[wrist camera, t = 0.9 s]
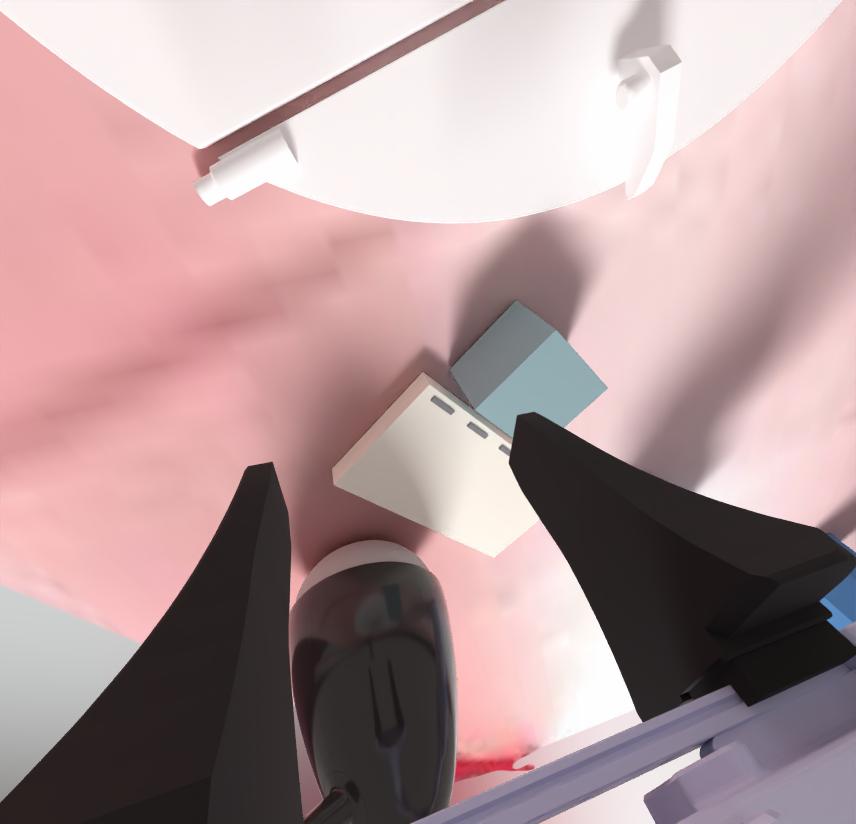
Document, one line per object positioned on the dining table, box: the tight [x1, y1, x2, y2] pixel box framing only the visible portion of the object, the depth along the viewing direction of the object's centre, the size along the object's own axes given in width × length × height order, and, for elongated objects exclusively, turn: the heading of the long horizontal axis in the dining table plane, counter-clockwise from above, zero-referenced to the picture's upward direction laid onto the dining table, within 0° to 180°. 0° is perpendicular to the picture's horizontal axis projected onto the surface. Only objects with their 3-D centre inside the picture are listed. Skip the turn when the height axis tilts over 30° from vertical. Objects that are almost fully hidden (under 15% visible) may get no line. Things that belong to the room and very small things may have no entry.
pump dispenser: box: [289, 540, 458, 824], centre depth 23 cm, size 10×10×15 cm
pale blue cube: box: [449, 300, 608, 439], centre depth 21 cm, size 5×5×4 cm
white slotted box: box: [332, 372, 540, 558], centre depth 26 cm, size 15×8×2 cm, turn 45°
